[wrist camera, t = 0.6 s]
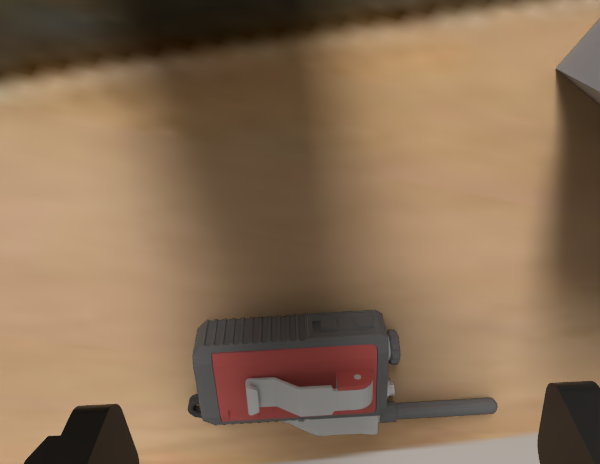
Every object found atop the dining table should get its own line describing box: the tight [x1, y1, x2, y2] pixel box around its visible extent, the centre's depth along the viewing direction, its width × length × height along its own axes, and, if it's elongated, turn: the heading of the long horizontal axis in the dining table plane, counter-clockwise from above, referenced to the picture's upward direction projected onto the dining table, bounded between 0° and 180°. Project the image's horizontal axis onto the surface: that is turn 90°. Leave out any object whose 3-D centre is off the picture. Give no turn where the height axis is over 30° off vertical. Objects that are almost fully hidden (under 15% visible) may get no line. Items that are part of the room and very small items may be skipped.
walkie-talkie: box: [188, 310, 497, 436], centre depth 35 cm, size 9×4×20 cm
